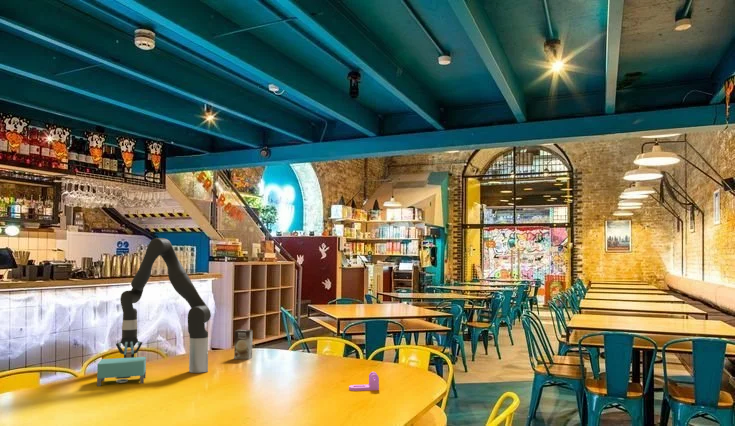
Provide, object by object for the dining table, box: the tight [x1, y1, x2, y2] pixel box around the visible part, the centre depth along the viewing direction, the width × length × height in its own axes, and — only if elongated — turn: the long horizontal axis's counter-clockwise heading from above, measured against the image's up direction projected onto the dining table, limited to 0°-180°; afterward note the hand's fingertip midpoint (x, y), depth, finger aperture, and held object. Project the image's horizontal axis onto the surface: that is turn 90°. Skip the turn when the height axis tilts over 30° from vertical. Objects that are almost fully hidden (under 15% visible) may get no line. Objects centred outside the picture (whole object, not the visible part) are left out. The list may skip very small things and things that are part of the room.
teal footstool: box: [96, 356, 147, 387], centre depth 282 cm, size 20×13×10 cm, turn 106°
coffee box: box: [233, 328, 253, 360], centre depth 341 cm, size 9×6×16 cm
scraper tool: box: [116, 350, 132, 379], centre depth 304 cm, size 28×6×6 cm, turn 16°
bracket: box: [348, 371, 380, 392], centre depth 264 cm, size 13×6×7 cm, turn 97°
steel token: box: [115, 378, 129, 384], centre depth 282 cm, size 5×5×1 cm
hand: (128, 361), depth 313 cm, fingers closed on scraper tool
